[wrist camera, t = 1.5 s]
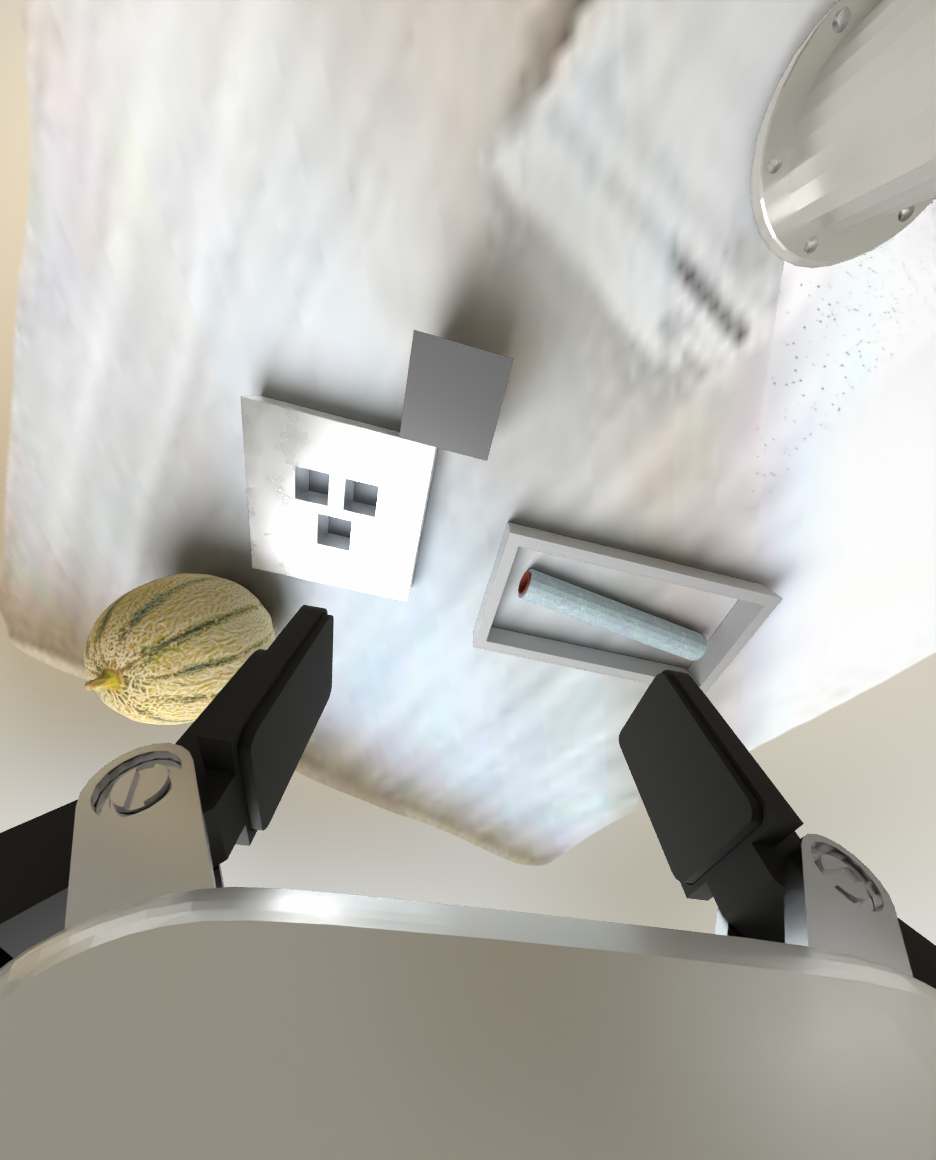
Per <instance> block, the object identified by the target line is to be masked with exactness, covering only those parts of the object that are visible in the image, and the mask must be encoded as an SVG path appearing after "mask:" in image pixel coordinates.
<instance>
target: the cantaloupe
mask: <svg viewBox="0 0 936 1160" xmlns="http://www.w3.org/2000/svg"><path fill="white" fill-rule="evenodd" d="M275 639H276V635H275V632H274V629H273V625H272V620H271V617H270V615H269V613H268V612H267V611H266V609H265V608H264V606H263V605H262V604H261V602H260V601H259V599H258V598H256V597H255V596H254V595H253V594H252V593H251V592H250V591H249V590H248V589H246V588H244V587H243V586H241V585H239V584H237V583H236V582H234V581H230V580H228V579H225V578H221V577H217V576H214V575H208V574H190V573H181V574H177V575H171V576H167V577H164V578H160V579H157V580H154V581H152V582H149V583H147V584H144V585H142V586H140V587H137V588H135V589H134V590H132V591H130V592H128V593H126V594H125V595H123V596H121V597H120V598H119V599H117V600H116V601H115V602H113V603H112V604H111V605H110V606H109V607H108V608H107V609H106V610H105V611H104V612H103V613H102V614H101V616H100V617H99V618H98V619H97V621H96V622H95V624H94V626H93V628H92V630H91V632H90V635H89V637H88V639H87V642H86V644H85V648H84V661H85V673H86V677H87V679H88V681H87V682H86V684H85V687H84V688H85V689H87V690H88V691H89V690H92V689H95V690H96V692H97V693H98V695H99V696H100V698H101V699H102V700H103V702H104V703H105V704H106V705H107V706H109V707H110V708H112V709H113V710H115V711H116V712H118V713H120V714H122V715H124V716H126V717H128V718H130V719H131V720H135V721H139V722H143V723H150V724H159V725H162V724H163V725H166V724H172V725H174V724H182V723H187V722H192V721H195V720H196V719H197V718H198V717H199V715H200V714H201V713H202V712H203V711H204V709H205V708H206V707H207V706H208V705H209V704H210V702H211V701H212V700H213V699H214V698H215V697H216V695H217V694H218V693H219V692H220V691H221V690H222V688H223V687H224V686H225V685H226V684H227V683H228V681H229V680H230V679H231V678H232V677H233V675H234V674H235V673H236V672H237V671H238V670H239V668H240V667H241V666H242V665H243V664H244V663H245V661H246V660H247V659H248V658H249V657H250V656H251V654H253V653H254V652H255V651H256V650H258V649H264V650H267V649H268V648H269V646H270V645H271V644H272V643H273V642H274V640H275Z"/></svg>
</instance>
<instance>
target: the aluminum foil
mask: <svg viewBox="0 0 936 1160" xmlns="http://www.w3.org/2000/svg"><path fill="white" fill-rule="evenodd" d="M518 595H519V597H520V598H522V599H524V600H527V601H530V602H533V603H535V604H538V605H541V606H544V607H546V608H549V609H552V610H554V611H557V612H560V613H563V614H565V615H568V616H571V617H573V618H576V619H579V620H582V621H584V622H587V623H590V624H593V625H595V626H598V627H601V628H603V629H606V630H609V631H612V632H614V633H617V634H620V635H622V636H625V637H628V638H631V639H633V640H636V641H639V642H642V643H644V644H647V645H650V646H652V647H655V648H658V649H661V650H663V651H666V652H669V653H672V654H674V655H677V656H680V657H682V658H685V659H688V660H692V661H694V660H698V659H699V658H701V657H702V656H703V655H704V653H705V652H706V648H707V641H706V639H705V637H704V636H703V635H702V634H700V633H697V632H695V631H692V630H690V629H687V628H684V627H682V626H679V625H677V624H674V623H671V622H669V621H666V620H664V619H661V618H658V617H656V616H653V615H651V614H648V613H645V612H643V611H640V610H638V609H635V608H632V607H630V606H627V605H625V604H622V603H619V602H617V601H614V600H612V599H609V598H606V597H604V596H601V595H599V594H596V593H593V592H591V591H588V590H586V589H583V588H580V587H578V586H575V585H573V584H570V583H567V582H565V581H562V580H560V579H557V578H554V577H552V576H549V575H547V574H544V573H541V572H539V571H536V570H534V569H529V570H528V572H526V573H525V574H524V576H523V577H522V579H521V581H520V584H519V589H518Z"/></svg>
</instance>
